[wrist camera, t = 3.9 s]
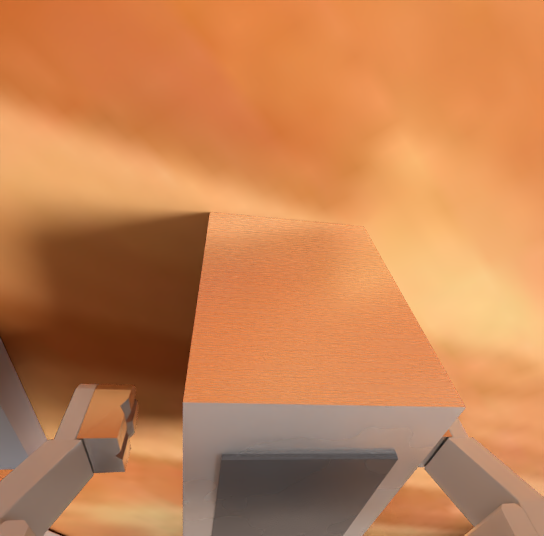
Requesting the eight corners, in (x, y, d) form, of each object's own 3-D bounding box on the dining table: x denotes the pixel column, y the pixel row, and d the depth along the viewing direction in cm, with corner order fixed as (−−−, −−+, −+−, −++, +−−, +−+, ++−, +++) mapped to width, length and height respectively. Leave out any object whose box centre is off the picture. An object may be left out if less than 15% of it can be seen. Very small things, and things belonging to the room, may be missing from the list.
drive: (362, 224, 11) (469, 413, 6) (299, 413, 16) (324, 587, 11) (209, 210, 10) (182, 408, 5) (200, 412, 16) (182, 595, 11)
